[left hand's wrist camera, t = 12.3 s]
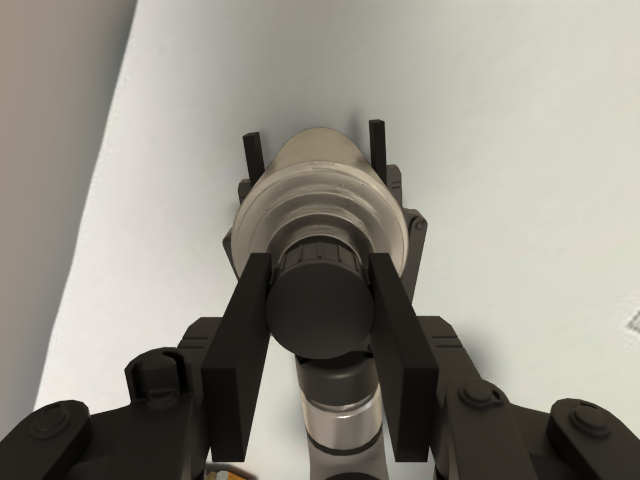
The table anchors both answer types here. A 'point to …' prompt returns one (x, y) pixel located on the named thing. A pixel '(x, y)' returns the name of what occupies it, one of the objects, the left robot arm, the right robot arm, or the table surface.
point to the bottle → (319, 204)
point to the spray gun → (223, 476)
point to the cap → (319, 301)
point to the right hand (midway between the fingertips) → (313, 127)
